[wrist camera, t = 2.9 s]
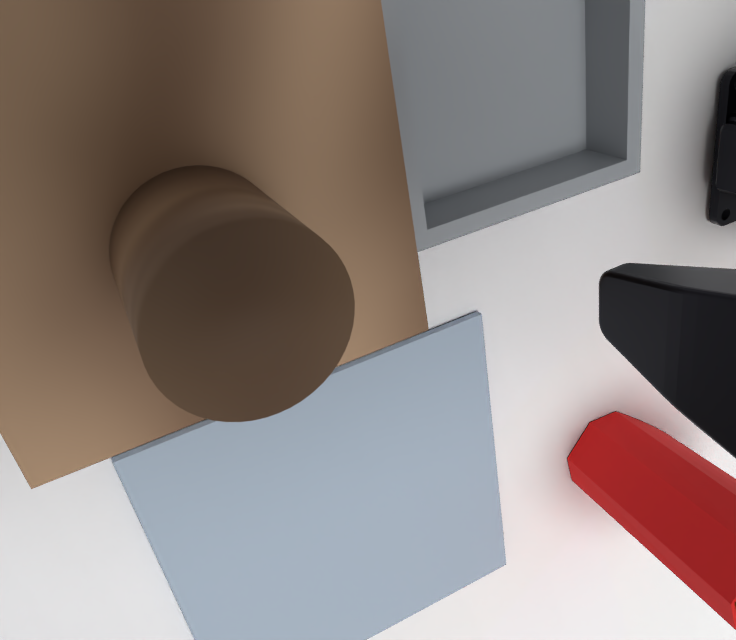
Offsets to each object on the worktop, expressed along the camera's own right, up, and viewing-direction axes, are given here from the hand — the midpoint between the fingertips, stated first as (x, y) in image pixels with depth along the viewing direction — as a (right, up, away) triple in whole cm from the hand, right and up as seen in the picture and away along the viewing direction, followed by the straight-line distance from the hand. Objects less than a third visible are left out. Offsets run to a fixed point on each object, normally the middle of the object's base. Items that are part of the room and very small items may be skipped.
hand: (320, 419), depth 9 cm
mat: (0, -7, +19) cm, 20 cm away
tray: (+4, +10, +13) cm, 17 cm away
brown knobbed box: (-6, +6, +10) cm, 13 cm away
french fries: (+13, -5, +25) cm, 29 cm away
